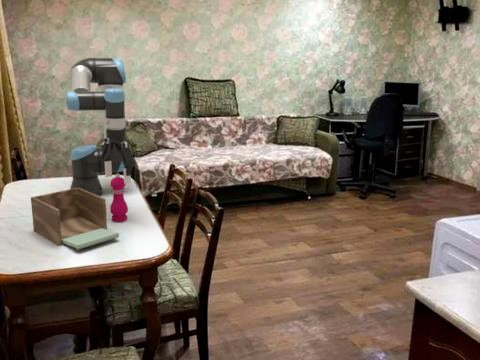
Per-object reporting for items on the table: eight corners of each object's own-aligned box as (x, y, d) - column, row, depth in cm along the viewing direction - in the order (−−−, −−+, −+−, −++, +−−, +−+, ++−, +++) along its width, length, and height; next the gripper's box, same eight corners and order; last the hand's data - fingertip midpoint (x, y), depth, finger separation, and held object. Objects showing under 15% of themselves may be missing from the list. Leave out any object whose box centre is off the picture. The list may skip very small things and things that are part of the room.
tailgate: (101, 228, 191) (118, 232, 183) (102, 232, 191) (119, 237, 183) (61, 239, 179) (77, 245, 171) (61, 244, 179) (78, 250, 171)
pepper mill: (107, 219, 204) (104, 173, 199) (121, 215, 209) (120, 170, 204) (116, 224, 200) (115, 177, 194) (131, 219, 205) (130, 173, 199)
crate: (80, 218, 204) (78, 187, 201) (107, 231, 191) (105, 198, 188) (33, 230, 190) (30, 197, 187) (58, 245, 177) (56, 210, 174)
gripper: (90, 125, 199) (93, 175, 205) (126, 133, 183) (127, 187, 189) (106, 123, 205) (108, 172, 210) (142, 131, 188) (143, 184, 194)
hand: (117, 179), depth 199 cm, fingers open, 13 cm apart
